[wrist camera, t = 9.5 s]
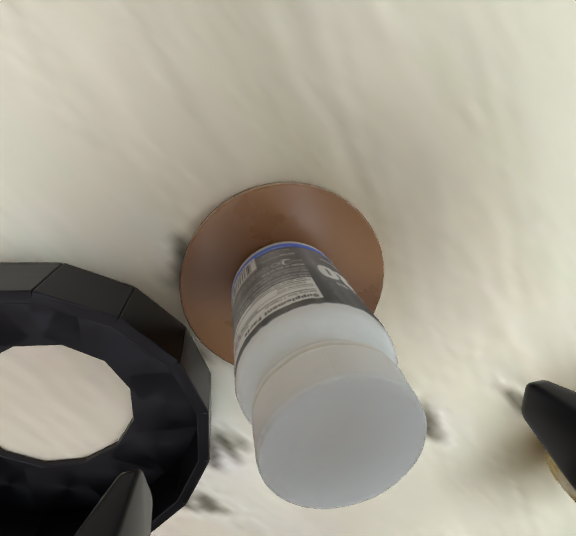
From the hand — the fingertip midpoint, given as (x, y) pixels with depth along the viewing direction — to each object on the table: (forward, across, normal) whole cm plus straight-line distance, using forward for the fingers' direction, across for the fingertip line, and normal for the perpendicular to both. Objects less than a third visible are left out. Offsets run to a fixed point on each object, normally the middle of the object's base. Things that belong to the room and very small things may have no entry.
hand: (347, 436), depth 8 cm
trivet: (+9, 0, 0) cm, 9 cm away
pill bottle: (+8, 0, 0) cm, 8 cm away
